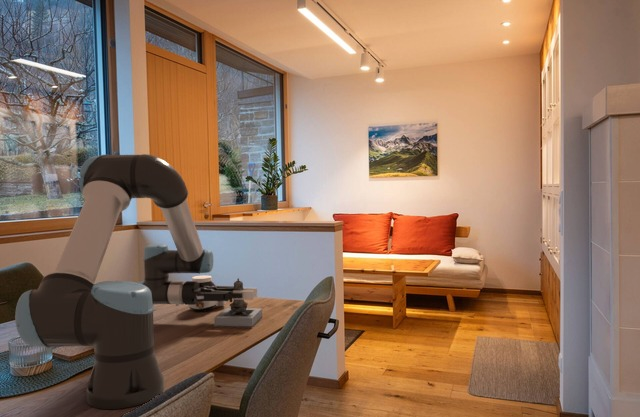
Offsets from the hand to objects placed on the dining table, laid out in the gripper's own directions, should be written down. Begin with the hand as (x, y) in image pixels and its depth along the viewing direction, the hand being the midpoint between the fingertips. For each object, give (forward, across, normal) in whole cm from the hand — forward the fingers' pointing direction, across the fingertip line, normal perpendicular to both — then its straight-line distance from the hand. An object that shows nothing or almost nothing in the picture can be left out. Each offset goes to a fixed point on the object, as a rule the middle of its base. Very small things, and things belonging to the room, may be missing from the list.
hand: (254, 293), depth 157 cm
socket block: (-5, 0, -9) cm, 11 cm away
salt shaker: (-5, 0, -7) cm, 9 cm away
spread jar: (-22, -17, -10) cm, 30 cm away
